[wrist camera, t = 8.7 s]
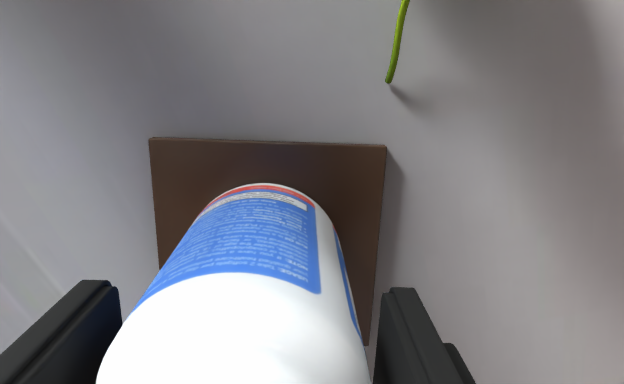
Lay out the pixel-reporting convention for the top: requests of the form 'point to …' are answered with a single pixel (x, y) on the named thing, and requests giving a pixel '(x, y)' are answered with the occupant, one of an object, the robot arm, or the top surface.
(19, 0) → the top surface
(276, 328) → the pill bottle
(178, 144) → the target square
